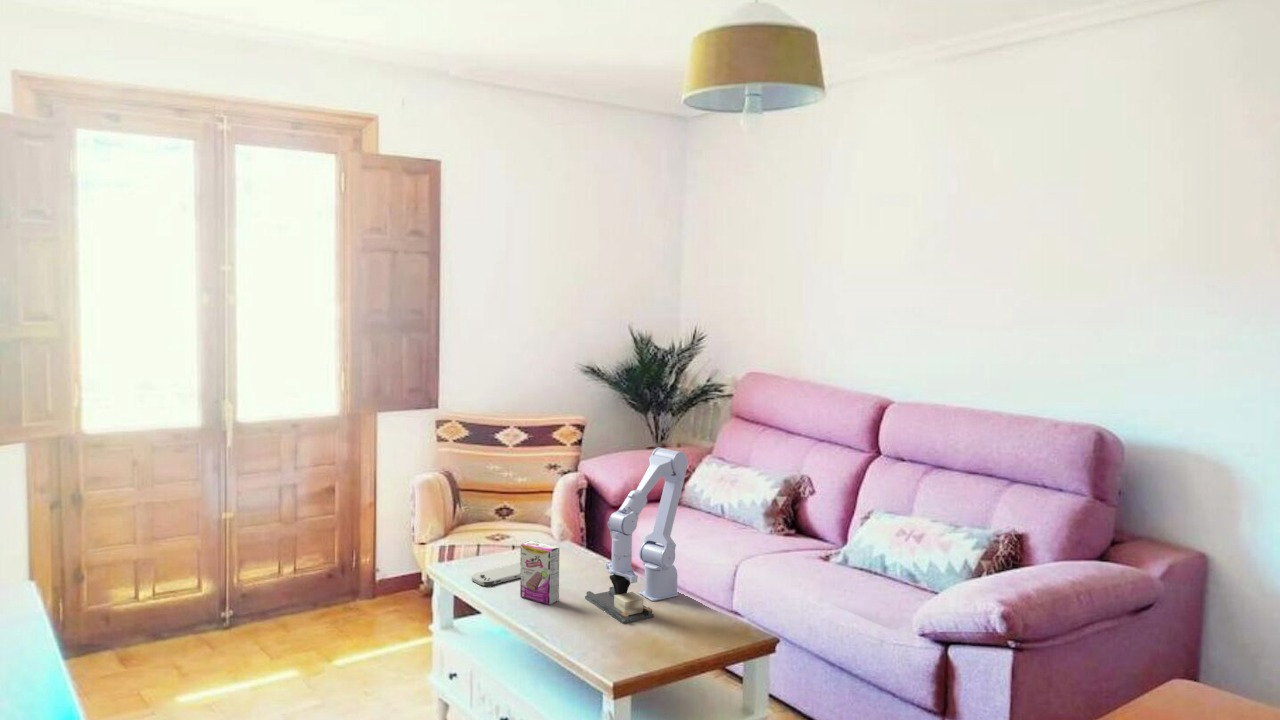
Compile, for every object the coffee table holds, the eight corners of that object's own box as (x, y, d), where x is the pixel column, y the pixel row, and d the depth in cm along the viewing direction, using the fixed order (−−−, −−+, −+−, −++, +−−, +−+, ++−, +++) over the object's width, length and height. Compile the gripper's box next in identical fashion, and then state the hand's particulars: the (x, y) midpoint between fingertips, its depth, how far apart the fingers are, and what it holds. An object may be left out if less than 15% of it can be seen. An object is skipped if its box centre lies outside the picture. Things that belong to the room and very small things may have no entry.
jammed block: (632, 605, 259) (632, 591, 259) (643, 612, 254) (643, 598, 253) (614, 609, 256) (614, 595, 255) (624, 616, 251) (625, 602, 250)
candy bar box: (519, 598, 266) (519, 543, 264) (530, 593, 270) (530, 539, 268) (549, 606, 260) (549, 550, 258) (559, 600, 264) (560, 546, 263)
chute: (614, 592, 272) (614, 585, 271) (653, 617, 253) (653, 609, 253) (585, 598, 266) (585, 591, 266) (623, 623, 248) (623, 615, 247)
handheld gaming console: (528, 557, 296) (546, 565, 289) (528, 565, 296) (546, 573, 289) (467, 572, 281) (484, 580, 273) (467, 580, 281) (484, 589, 274)
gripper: (597, 549, 261) (596, 594, 262) (622, 563, 249) (621, 610, 250) (618, 545, 265) (617, 590, 266) (644, 559, 252) (643, 606, 254)
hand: (620, 599), depth 258 cm, fingers closed
